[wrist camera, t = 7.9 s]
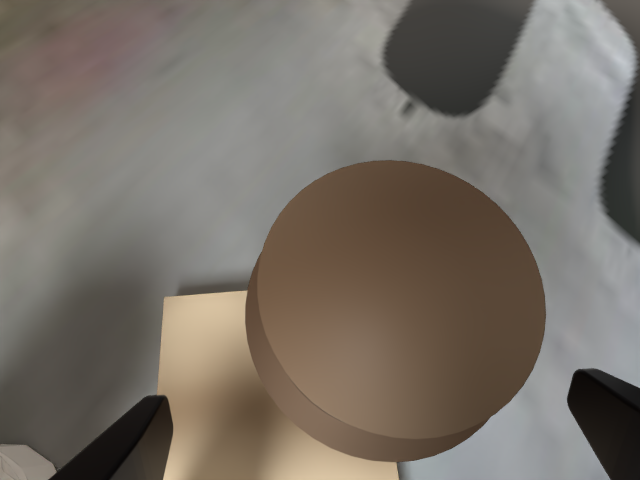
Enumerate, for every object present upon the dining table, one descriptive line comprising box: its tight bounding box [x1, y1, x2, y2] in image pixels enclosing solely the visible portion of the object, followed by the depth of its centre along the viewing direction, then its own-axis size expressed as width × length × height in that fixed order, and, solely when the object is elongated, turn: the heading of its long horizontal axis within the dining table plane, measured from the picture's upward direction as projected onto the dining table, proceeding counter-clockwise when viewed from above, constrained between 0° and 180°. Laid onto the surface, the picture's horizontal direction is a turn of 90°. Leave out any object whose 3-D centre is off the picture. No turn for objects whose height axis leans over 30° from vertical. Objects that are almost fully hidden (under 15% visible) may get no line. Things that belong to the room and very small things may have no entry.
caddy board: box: [157, 291, 399, 480], centre depth 17 cm, size 12×10×1 cm
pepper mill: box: [245, 160, 546, 462], centre depth 11 cm, size 5×5×13 cm
